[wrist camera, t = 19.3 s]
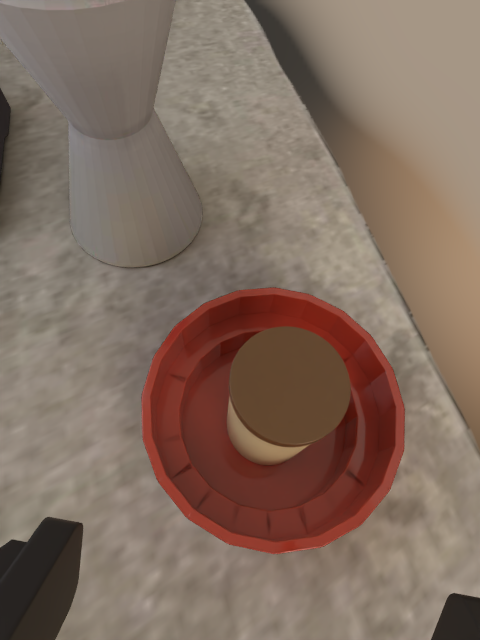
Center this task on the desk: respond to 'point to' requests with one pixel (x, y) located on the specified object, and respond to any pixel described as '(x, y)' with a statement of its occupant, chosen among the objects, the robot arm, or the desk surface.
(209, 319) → the bowl
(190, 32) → the desk surface
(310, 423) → the tea tin
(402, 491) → the desk surface
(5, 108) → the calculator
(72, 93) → the lamp
